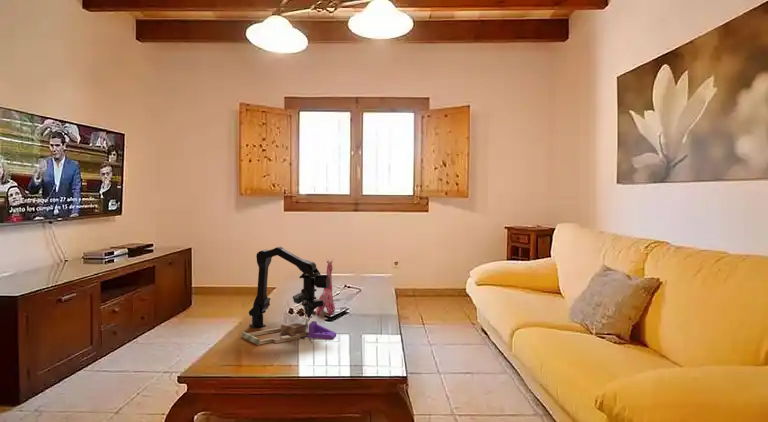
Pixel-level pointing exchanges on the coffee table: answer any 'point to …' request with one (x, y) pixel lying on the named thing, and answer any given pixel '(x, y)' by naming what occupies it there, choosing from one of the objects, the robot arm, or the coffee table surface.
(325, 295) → the toy
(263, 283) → the robot arm
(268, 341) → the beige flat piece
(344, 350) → the coffee table surface
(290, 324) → the block
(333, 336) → the bracket
